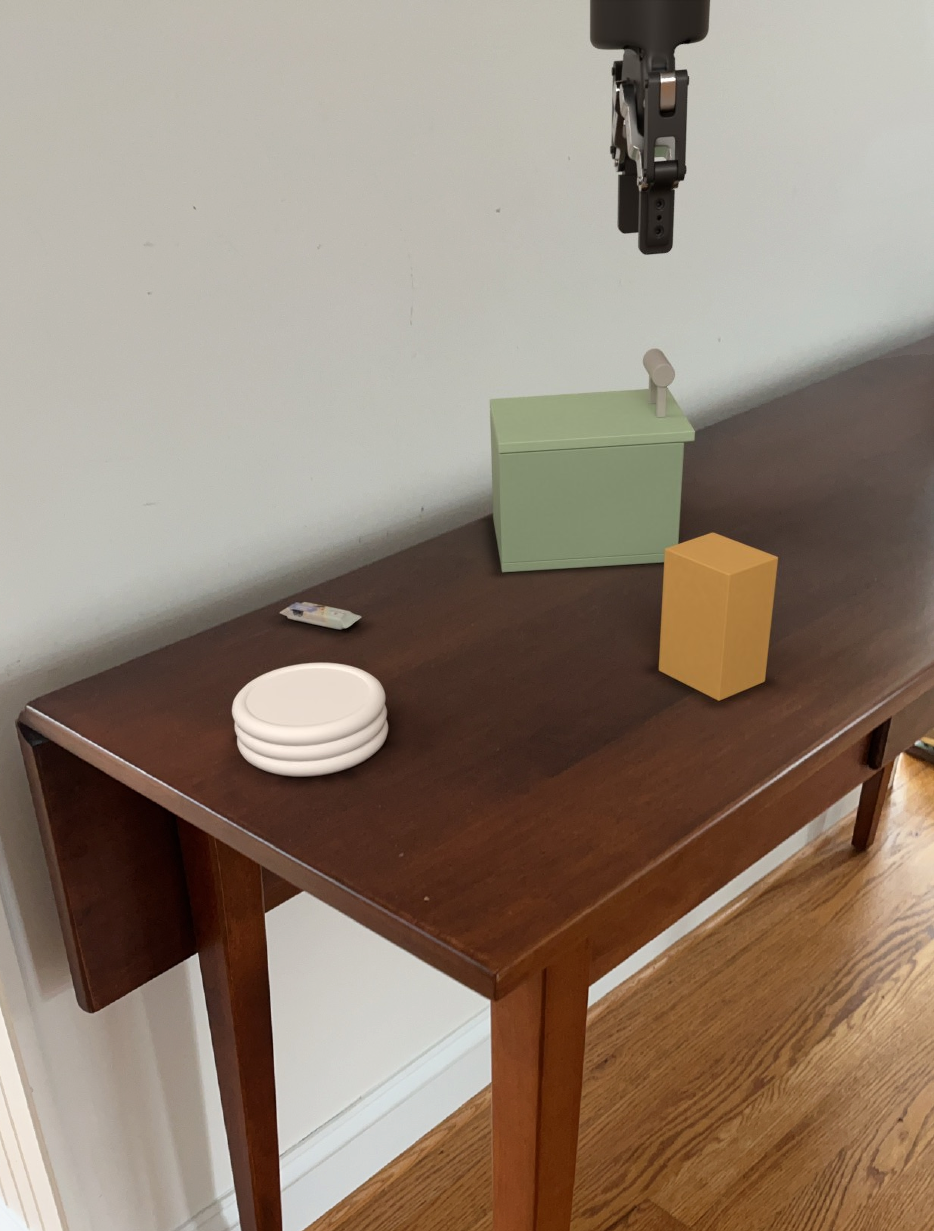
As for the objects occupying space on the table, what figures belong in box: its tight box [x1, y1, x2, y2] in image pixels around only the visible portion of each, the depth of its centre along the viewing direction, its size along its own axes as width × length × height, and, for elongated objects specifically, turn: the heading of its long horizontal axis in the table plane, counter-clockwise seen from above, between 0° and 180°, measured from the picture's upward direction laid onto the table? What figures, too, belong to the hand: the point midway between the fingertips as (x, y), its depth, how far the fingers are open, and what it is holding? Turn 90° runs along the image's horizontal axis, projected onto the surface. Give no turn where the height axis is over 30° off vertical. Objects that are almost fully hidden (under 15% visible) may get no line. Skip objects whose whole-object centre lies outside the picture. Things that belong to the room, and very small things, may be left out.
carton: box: [658, 532, 779, 702], centre depth 86 cm, size 4×6×9 cm
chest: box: [489, 410, 685, 573], centre depth 107 cm, size 15×13×10 cm
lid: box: [489, 348, 696, 453], centre depth 103 cm, size 15×13×5 cm
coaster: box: [231, 662, 389, 778], centre depth 83 cm, size 10×10×4 cm
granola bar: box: [278, 600, 362, 630], centre depth 99 cm, size 7×1×3 cm
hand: (643, 242), depth 88 cm, fingers open, 8 cm apart
